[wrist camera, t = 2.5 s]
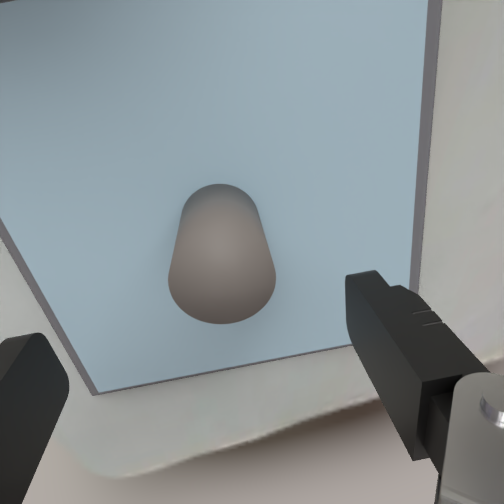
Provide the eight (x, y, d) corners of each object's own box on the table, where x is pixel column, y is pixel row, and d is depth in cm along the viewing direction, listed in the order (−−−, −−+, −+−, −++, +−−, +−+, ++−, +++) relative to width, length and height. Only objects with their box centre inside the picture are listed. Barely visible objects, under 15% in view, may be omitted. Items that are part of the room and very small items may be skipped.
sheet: (420, -70, 12) (568, -166, 7) (399, 324, 21) (459, 407, 16) (-90, 26, 12) (-311, -2, 7) (102, 381, 21) (66, 484, 16)
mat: (443, -108, 12) (451, -114, 12) (410, 327, 22) (414, 333, 21) (-126, -2, 12) (-140, -4, 12) (94, 389, 22) (92, 395, 21)
